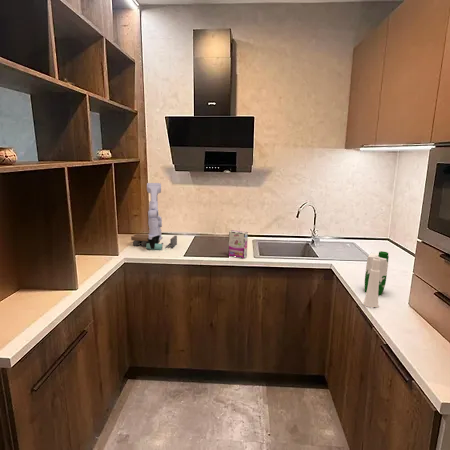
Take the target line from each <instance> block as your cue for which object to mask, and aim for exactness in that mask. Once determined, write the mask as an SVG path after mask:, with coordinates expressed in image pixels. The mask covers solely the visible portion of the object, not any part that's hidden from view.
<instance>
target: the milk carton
mask: <svg viewBox="0 0 450 450" xmlns="http://www.w3.org/2000/svg"><path fill="white" fill-rule="evenodd" d="M374 256H378V257H380V258H379V259H380V264H379V270H380V275H379V289H378V296H379V295H381V296H382V294H383V293H384V290H385V286H386V282H387V275H388V267H389V252H388V251H381V250H380V251H378V253H375V252H371V253H370V254H369V255H368V256H367V260H366V267H365V275H364V292H365V293H366V292H367V287H368V281H369V275H370V270H371V269H372V262H373V258H374Z"/></svg>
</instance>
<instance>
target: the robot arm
mask: <svg viewBox="0 0 450 450" xmlns="http://www.w3.org/2000/svg"><path fill="white" fill-rule="evenodd" d="M146 191H147V193H148V194H150V201H148V202H149V203H148V211H147V216H148V217H147V218H148V222H147V224H148V228H149V230H148V231H149V233H147V234H148V235H149V238H147V239H148V241H149V243H150V247H151V249H150V250H154V247H155V243H156V244H159V243H158V240H160V241H161V240H162V239H163V236H162V228H163V223H162V222H163V220H162V216H161V215H159V202H158V200H159V199H158V196H159V194H161V193H162V183H161V182H147V183H146Z"/></svg>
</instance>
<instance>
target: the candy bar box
mask: <svg viewBox="0 0 450 450" xmlns="http://www.w3.org/2000/svg"><path fill="white" fill-rule="evenodd" d="M248 236H249V234H248V232H247V231H242V230H233V229H232V230H229V231H228V257H231V256H236V257H235V258H237V257H242V258H241V259H243V258H244V259H246V258H247V257H248V239H249V238H248ZM246 256H247V257H246ZM245 257H246V258H245Z"/></svg>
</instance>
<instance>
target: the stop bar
mask: <svg viewBox="0 0 450 450" xmlns="http://www.w3.org/2000/svg"><path fill="white" fill-rule="evenodd" d="M169 242H170V246H169V247H170V249H174V248H175V247H176V246H177V245H178V235H173V236H172V237H171V238H170V241H169Z"/></svg>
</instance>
